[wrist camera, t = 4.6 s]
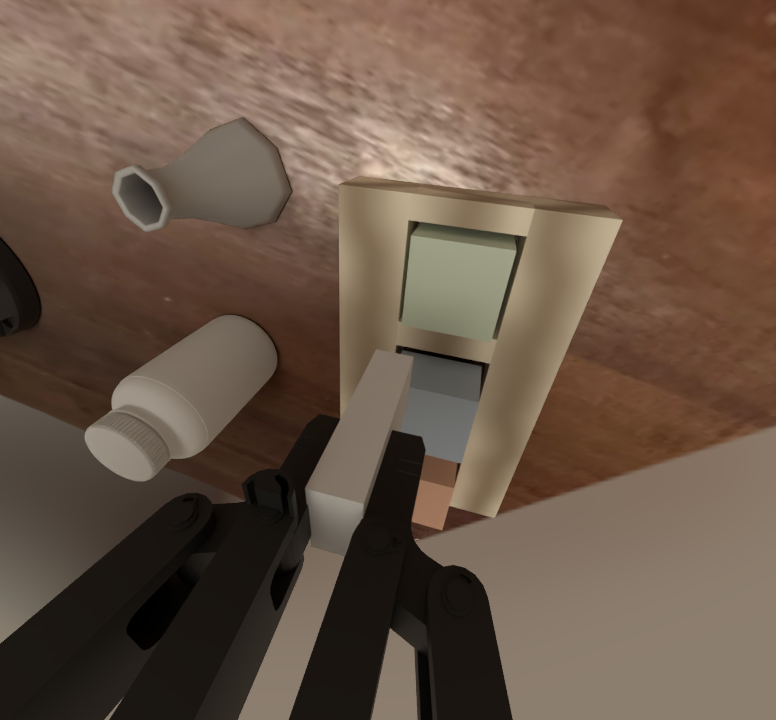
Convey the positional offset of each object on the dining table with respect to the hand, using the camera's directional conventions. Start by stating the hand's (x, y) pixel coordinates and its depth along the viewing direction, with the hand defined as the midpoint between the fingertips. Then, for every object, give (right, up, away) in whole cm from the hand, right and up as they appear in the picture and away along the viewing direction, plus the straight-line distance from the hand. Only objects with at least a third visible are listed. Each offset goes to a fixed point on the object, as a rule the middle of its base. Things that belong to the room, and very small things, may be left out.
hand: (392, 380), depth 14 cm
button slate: (+4, -1, +14) cm, 14 cm away
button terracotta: (+3, -9, +19) cm, 21 cm away
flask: (-11, +15, +13) cm, 22 cm away
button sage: (+5, +7, +11) cm, 14 cm away
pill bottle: (-15, +2, +22) cm, 27 cm away
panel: (+5, +1, +17) cm, 18 cm away
